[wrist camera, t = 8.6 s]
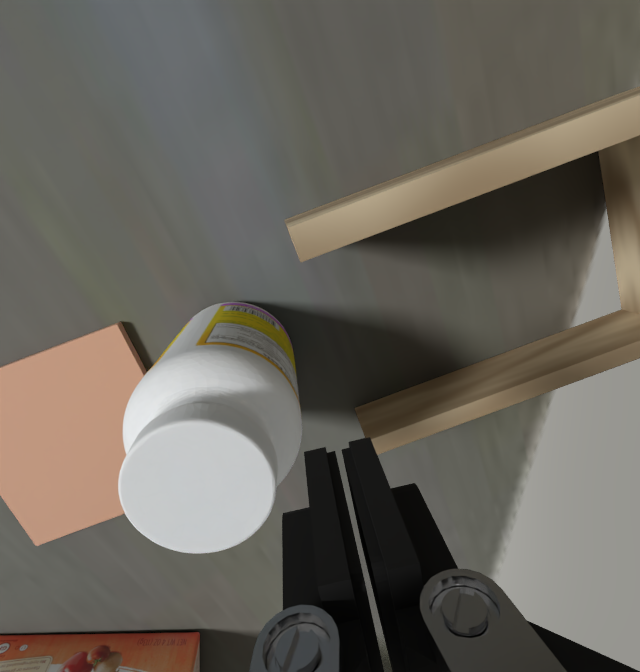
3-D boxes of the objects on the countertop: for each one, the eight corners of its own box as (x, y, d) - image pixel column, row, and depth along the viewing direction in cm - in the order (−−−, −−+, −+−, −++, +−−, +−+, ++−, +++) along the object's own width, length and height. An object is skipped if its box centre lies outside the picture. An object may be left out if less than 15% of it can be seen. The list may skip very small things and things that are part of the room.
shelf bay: (284, 219, 23) (287, 227, 12) (608, 97, 23) (937, -18, 11) (359, 421, 27) (417, 577, 16) (639, 318, 27) (909, 399, 15)
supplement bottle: (207, 422, 26) (142, 609, 14) (158, 323, 24) (32, 439, 12) (310, 383, 26) (337, 538, 14) (269, 281, 24) (258, 354, 12)
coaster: (-63, 390, 24) (-71, 394, 24) (120, 321, 24) (116, 324, 23) (41, 539, 27) (35, 546, 27) (203, 479, 27) (201, 485, 27)
